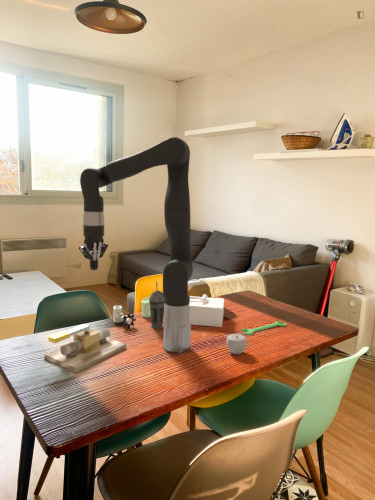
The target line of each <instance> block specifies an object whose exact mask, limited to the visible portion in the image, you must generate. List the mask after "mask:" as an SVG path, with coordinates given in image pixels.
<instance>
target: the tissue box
mask: <svg viewBox="0 0 375 500" xmlns="http://www.w3.org/2000/svg"><path fill="white" fill-rule="evenodd" d="M189 296H190V305H189V323H191V325H194V326H195V325H196V326H206V327H216V328H217V327H218V328H219V327H220V328H222V327H223V320H224V311H225V309H224V308H225V298H221V297H208V295H207V294H206V293H205V294H202V296H192V295H189Z"/></svg>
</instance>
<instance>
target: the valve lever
mask: <svg viewBox="0 0 375 500" xmlns="http://www.w3.org/2000/svg"><path fill="white" fill-rule="evenodd" d="M89 329H90V325H89V324H85V323H83V324H80V325H78V326H75V327H73V328H70V329H68V330H62V331H60V332H57V333H54V334H50V335H49V336H48V342H50V343H52V344H57V343H59V342H62V341H64V340H68V339H70V338H71V337H72V336H74V335H75V334H78V333H80V332H83V331H84V333H89Z"/></svg>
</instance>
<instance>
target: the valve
mask: <svg viewBox="0 0 375 500" xmlns="http://www.w3.org/2000/svg"><path fill="white" fill-rule="evenodd" d="M112 310H113V312H112V317H113V318H112V321H113V323H115V324H116V323H117V324H118V323H121V324H122V328H127V329H130V328H131V326H132V327H134V326H135V322H136V321H137V318H136V317H135V314H133V313H129V312H127V313H126V315H127V316H126V315H125V314H124V313H123V307H122V305H114V306H113V309H112Z"/></svg>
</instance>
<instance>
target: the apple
mask: <svg viewBox="0 0 375 500" xmlns="http://www.w3.org/2000/svg"><path fill="white" fill-rule="evenodd" d="M225 343H226V346H227V349H228V350H229V353H231V354H232V355H240V354H242V353H244V351H245V350H246V349H247V346H248V339H247V338H246V336H245V335H244V334H239V333H231V334H229V335H227V337H226V339H225Z"/></svg>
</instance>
